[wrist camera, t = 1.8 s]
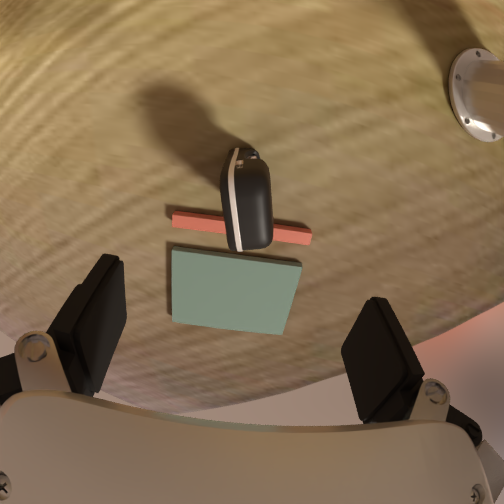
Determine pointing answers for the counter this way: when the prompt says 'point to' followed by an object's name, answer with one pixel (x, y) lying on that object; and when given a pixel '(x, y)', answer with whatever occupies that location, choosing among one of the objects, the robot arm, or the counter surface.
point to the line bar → (218, 225)
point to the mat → (232, 290)
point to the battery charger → (246, 200)
